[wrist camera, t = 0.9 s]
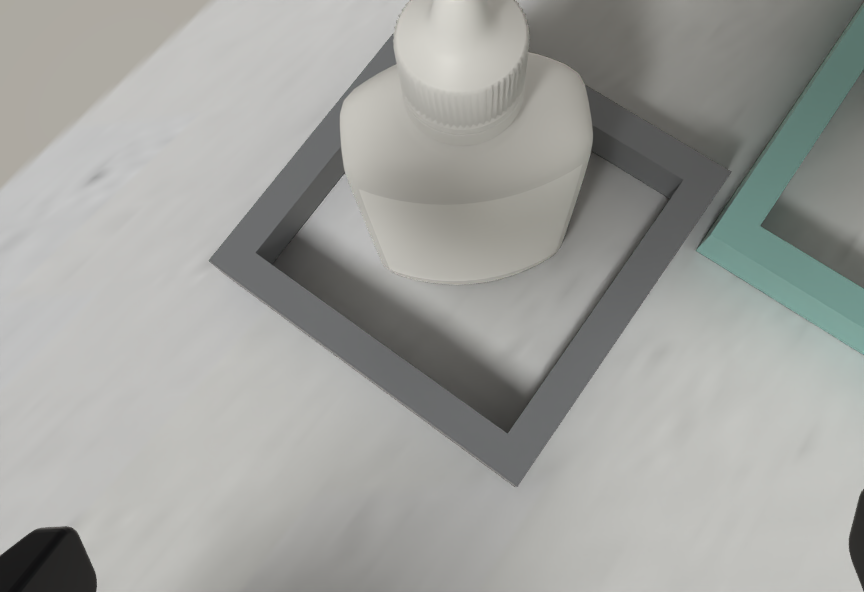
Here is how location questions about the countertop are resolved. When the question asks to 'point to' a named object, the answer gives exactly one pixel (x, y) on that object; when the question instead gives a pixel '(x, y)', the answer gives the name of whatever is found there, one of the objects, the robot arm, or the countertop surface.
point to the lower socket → (741, 218)
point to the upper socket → (503, 453)
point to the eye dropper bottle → (466, 145)
